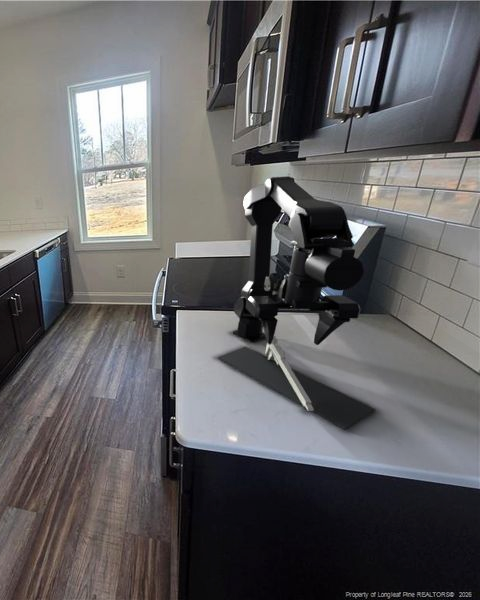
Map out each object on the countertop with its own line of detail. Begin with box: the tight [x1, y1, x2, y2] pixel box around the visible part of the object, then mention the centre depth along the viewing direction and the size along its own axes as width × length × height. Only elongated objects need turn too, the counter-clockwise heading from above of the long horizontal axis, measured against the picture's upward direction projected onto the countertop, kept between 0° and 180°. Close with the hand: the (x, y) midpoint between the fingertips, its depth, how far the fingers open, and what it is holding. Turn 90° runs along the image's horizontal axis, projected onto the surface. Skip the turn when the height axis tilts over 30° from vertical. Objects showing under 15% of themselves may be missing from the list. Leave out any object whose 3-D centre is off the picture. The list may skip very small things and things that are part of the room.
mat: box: [217, 346, 376, 431], centre depth 70 cm, size 10×28×1 cm, turn 26°
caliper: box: [264, 335, 314, 412], centre depth 68 cm, size 20×1×6 cm, turn 172°
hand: (292, 343), depth 67 cm, fingers open, 9 cm apart
